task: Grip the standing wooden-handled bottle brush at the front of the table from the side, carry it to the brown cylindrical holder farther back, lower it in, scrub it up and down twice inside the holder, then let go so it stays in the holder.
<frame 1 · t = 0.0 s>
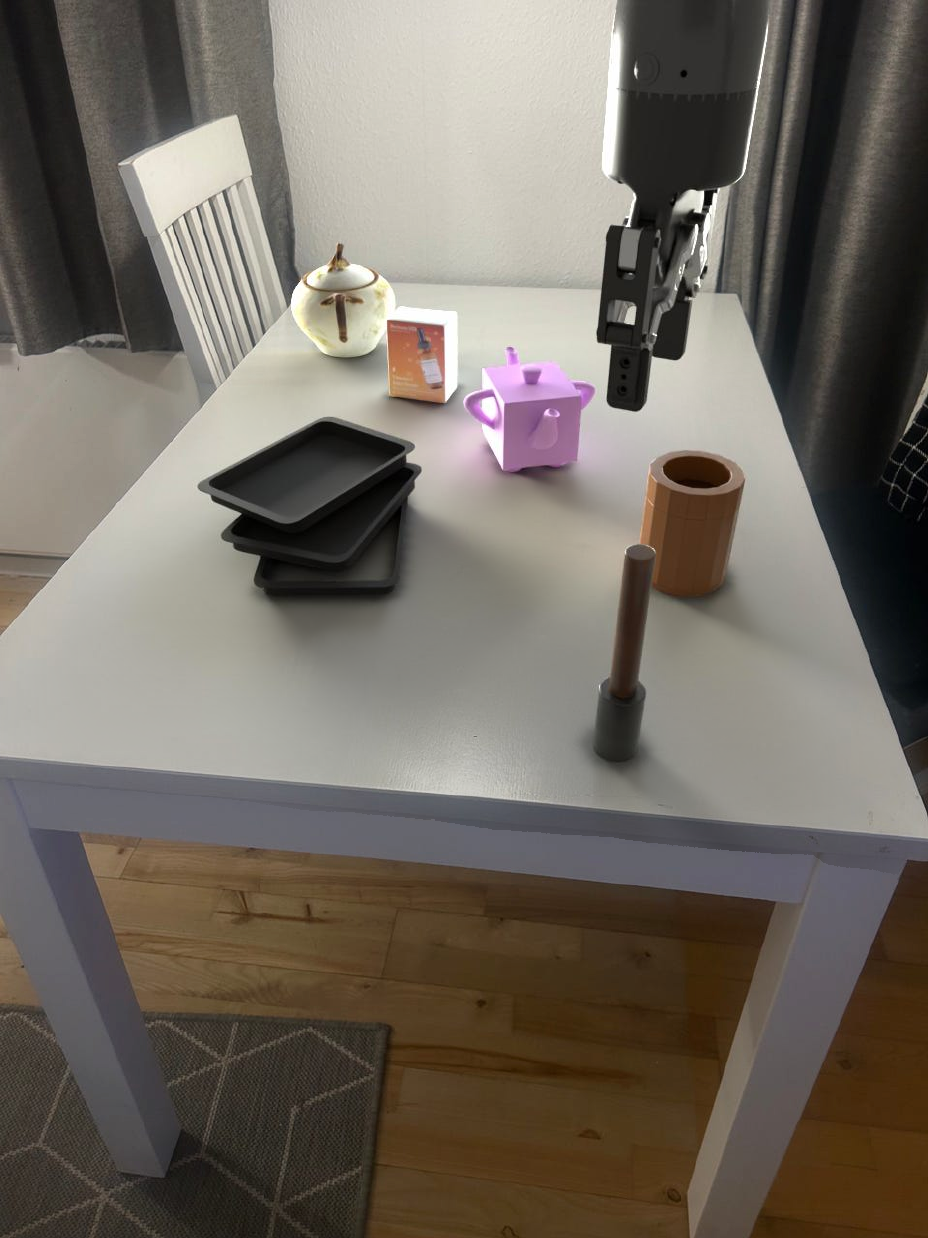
hand: (647, 380, 56), 28 cm above the table, tool pointing down, fingers open, 8 cm apart
teapot: (527, 457, 108), on the table
brown cylindrical holder: (680, 572, 89), on the table
tray: (318, 526, 96), on the table
sugar bowl: (347, 348, 136), on the table
brush: (614, 747, 70), on the table
small box: (424, 394, 123), on the table
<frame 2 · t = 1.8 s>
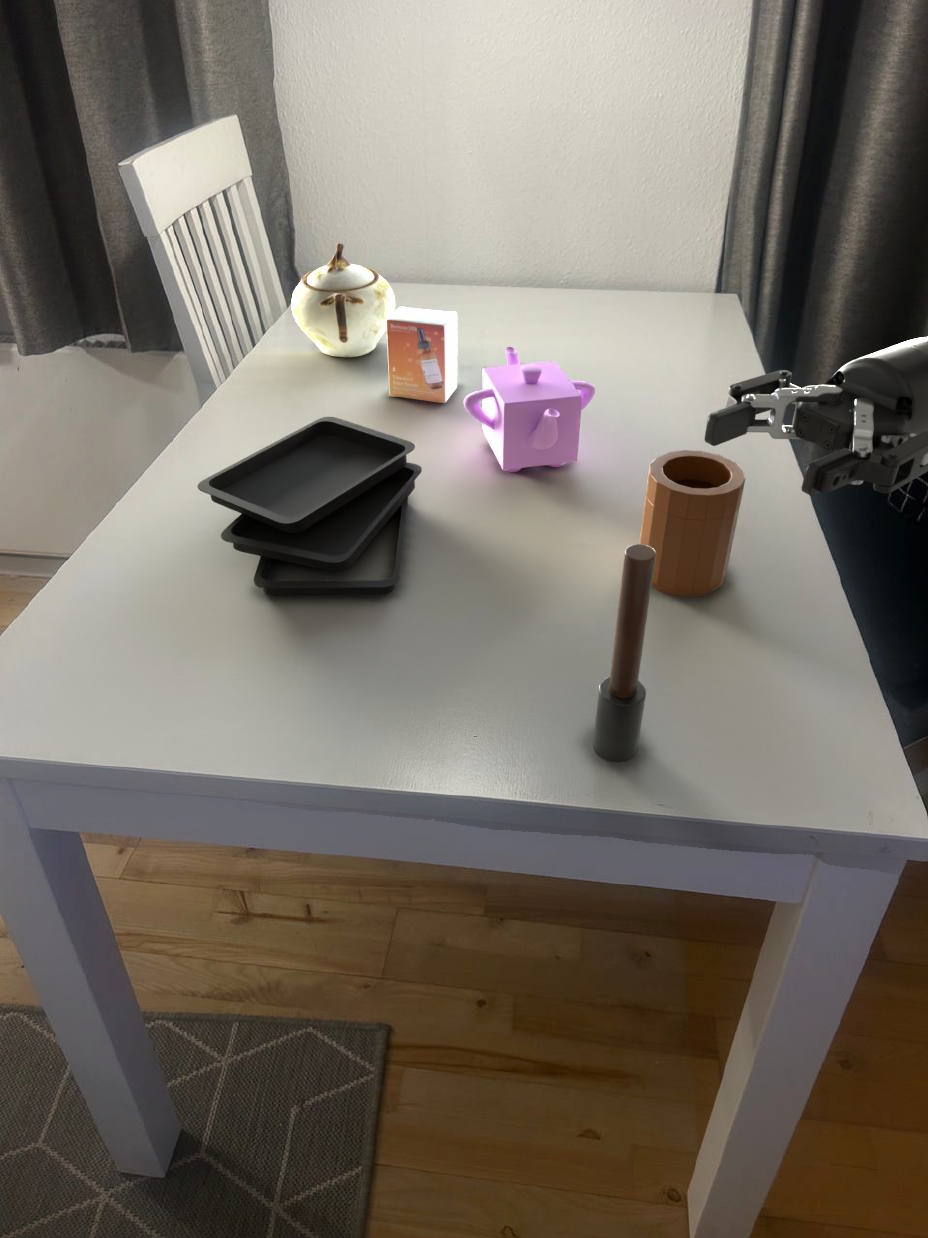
hand: (756, 455, 61), 22 cm above the table, tool horizontal, fingers open, 8 cm apart
nothing on the table moved.
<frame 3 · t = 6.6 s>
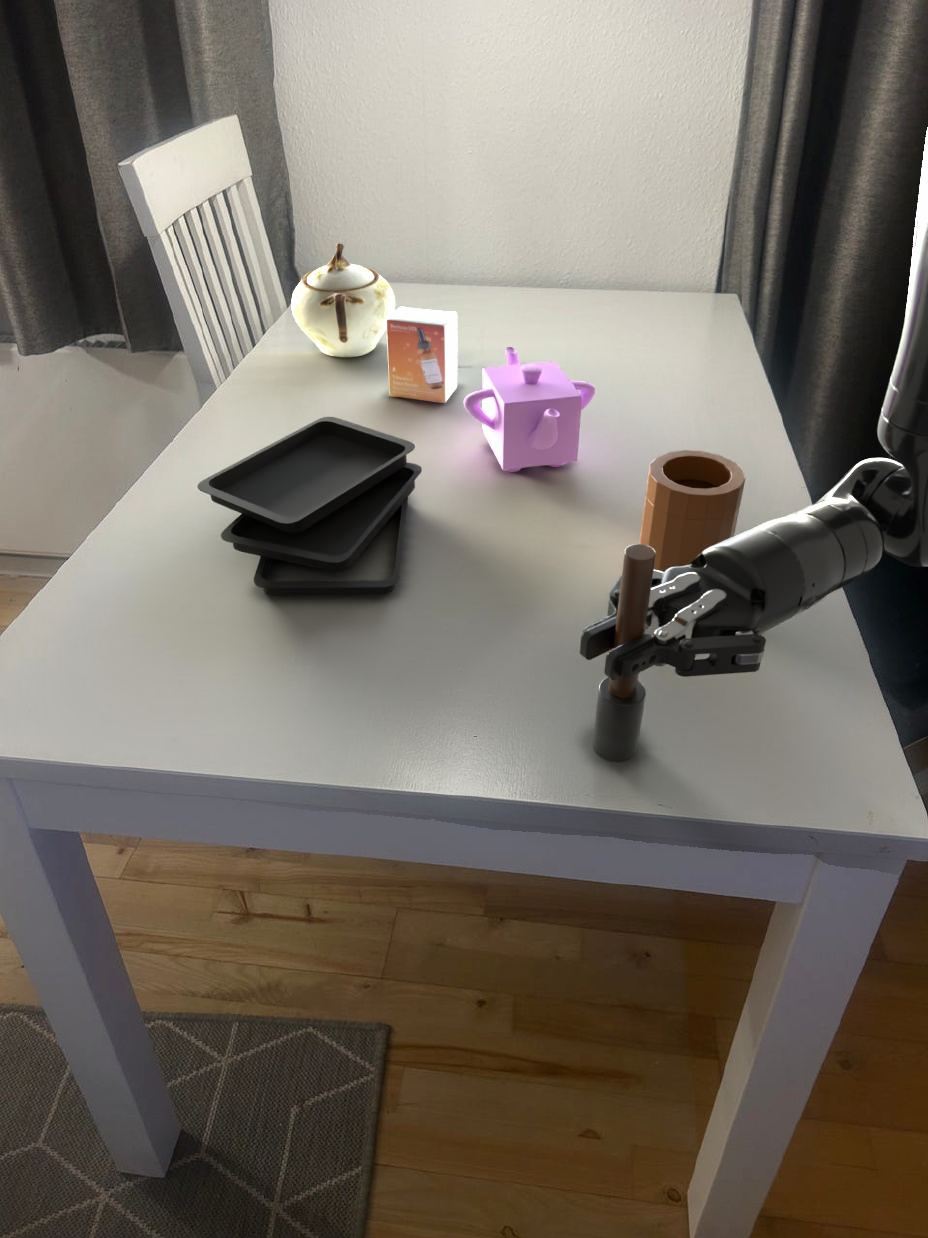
hand: (597, 657, 62), 11 cm above the table, tool horizontal, fingers closed on brush, 2 cm apart
brush: (614, 747, 70), on the table, touching gripper
everything else where it was.
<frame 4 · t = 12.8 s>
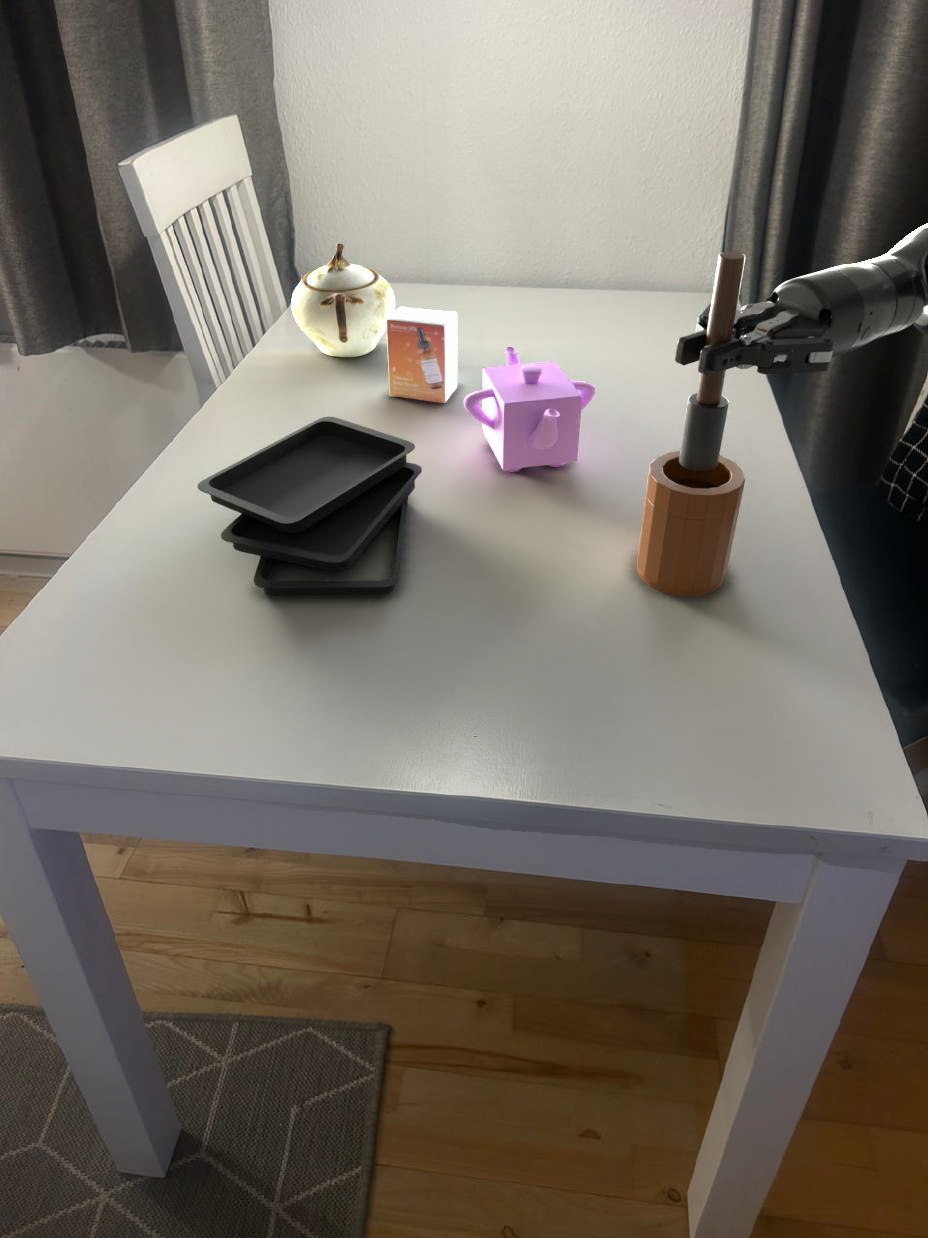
hand: (691, 357, 74), 22 cm above the table, tool horizontal, fingers closed on brush
brush: (698, 462, 82), point 12 cm above the table, touching gripper
everything else where it was.
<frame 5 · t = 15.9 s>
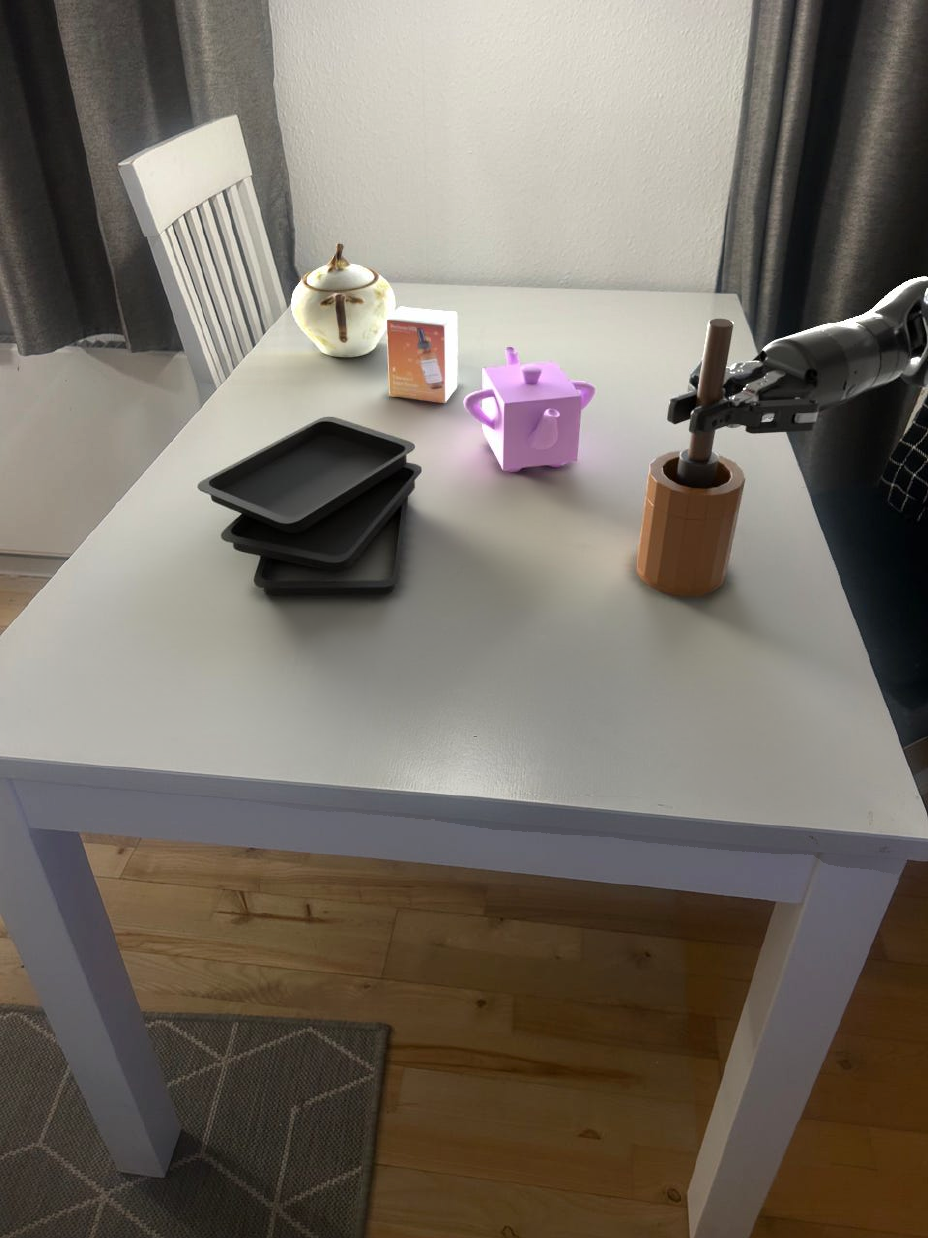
hand: (682, 417, 77), 17 cm above the table, tool horizontal, fingers closed on brush
brush: (689, 513, 85), point 7 cm above the table, touching gripper
everything else where it was.
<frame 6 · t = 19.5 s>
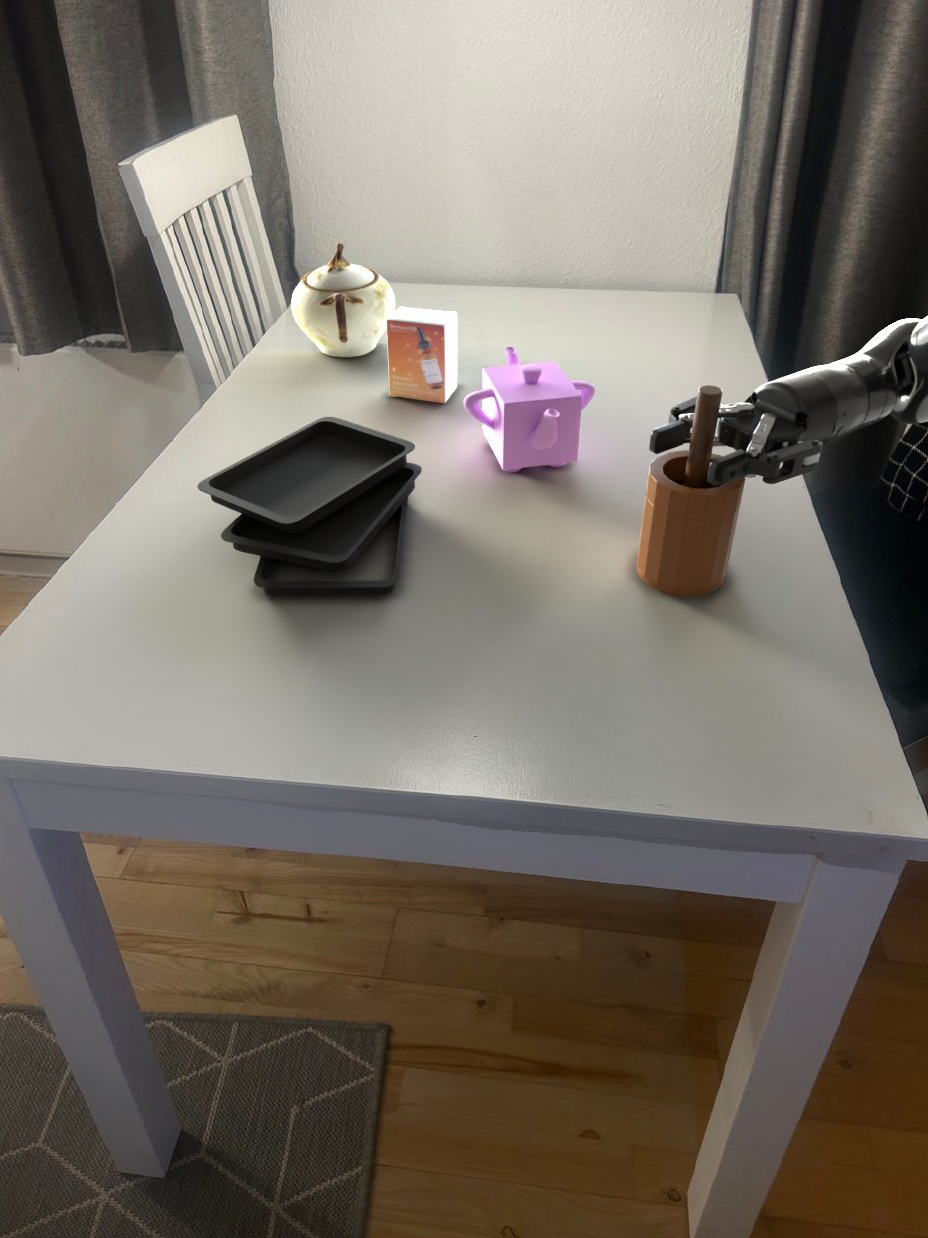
hand: (681, 458, 80), 13 cm above the table, tool horizontal, fingers open, 6 cm apart
brush: (681, 565, 88), point 1 cm above the table, touching brown cylindrical holder
everything else where it was.
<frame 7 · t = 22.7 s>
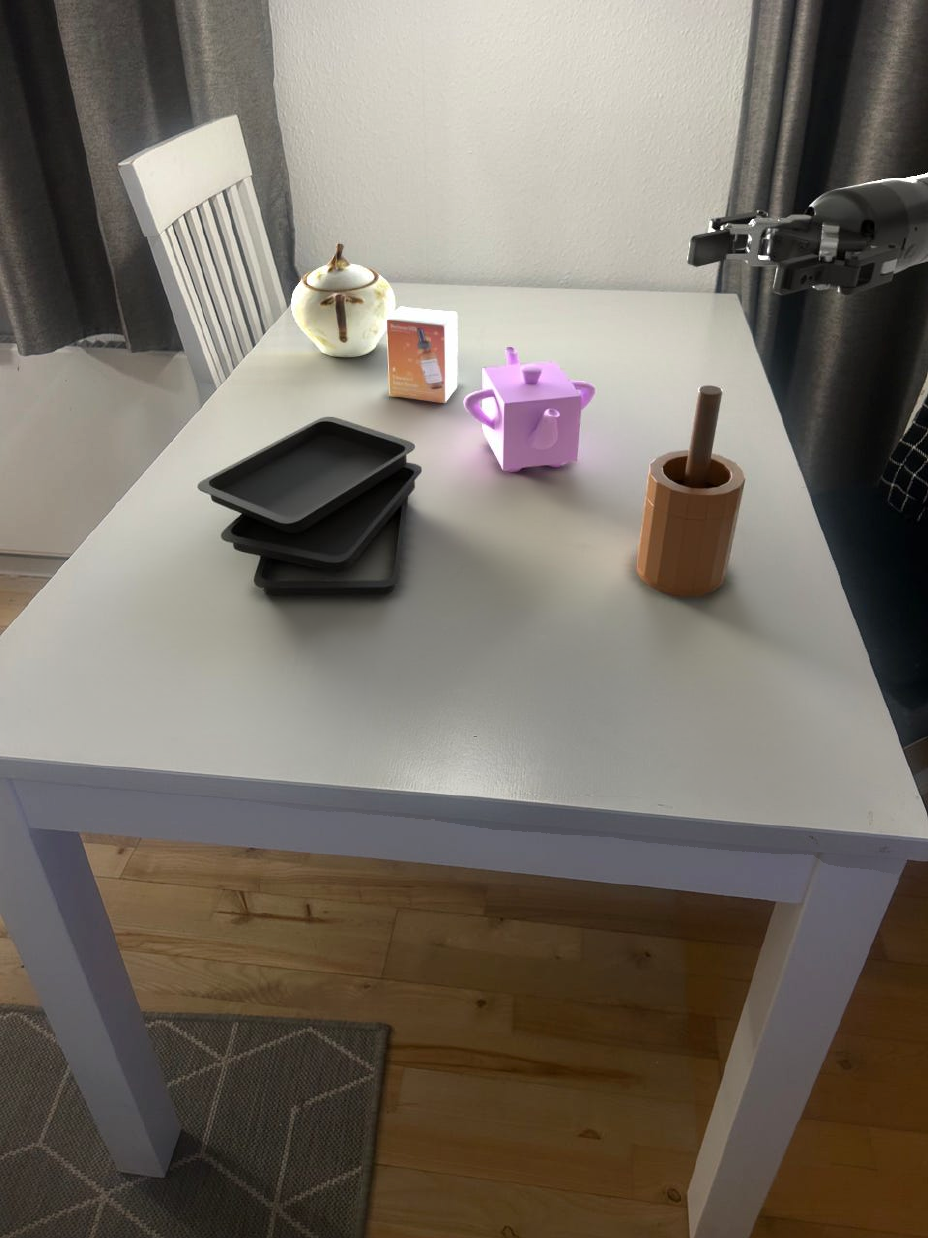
hand: (733, 265, 68), 30 cm above the table, tool horizontal, fingers open, 8 cm apart
nothing on the table moved.
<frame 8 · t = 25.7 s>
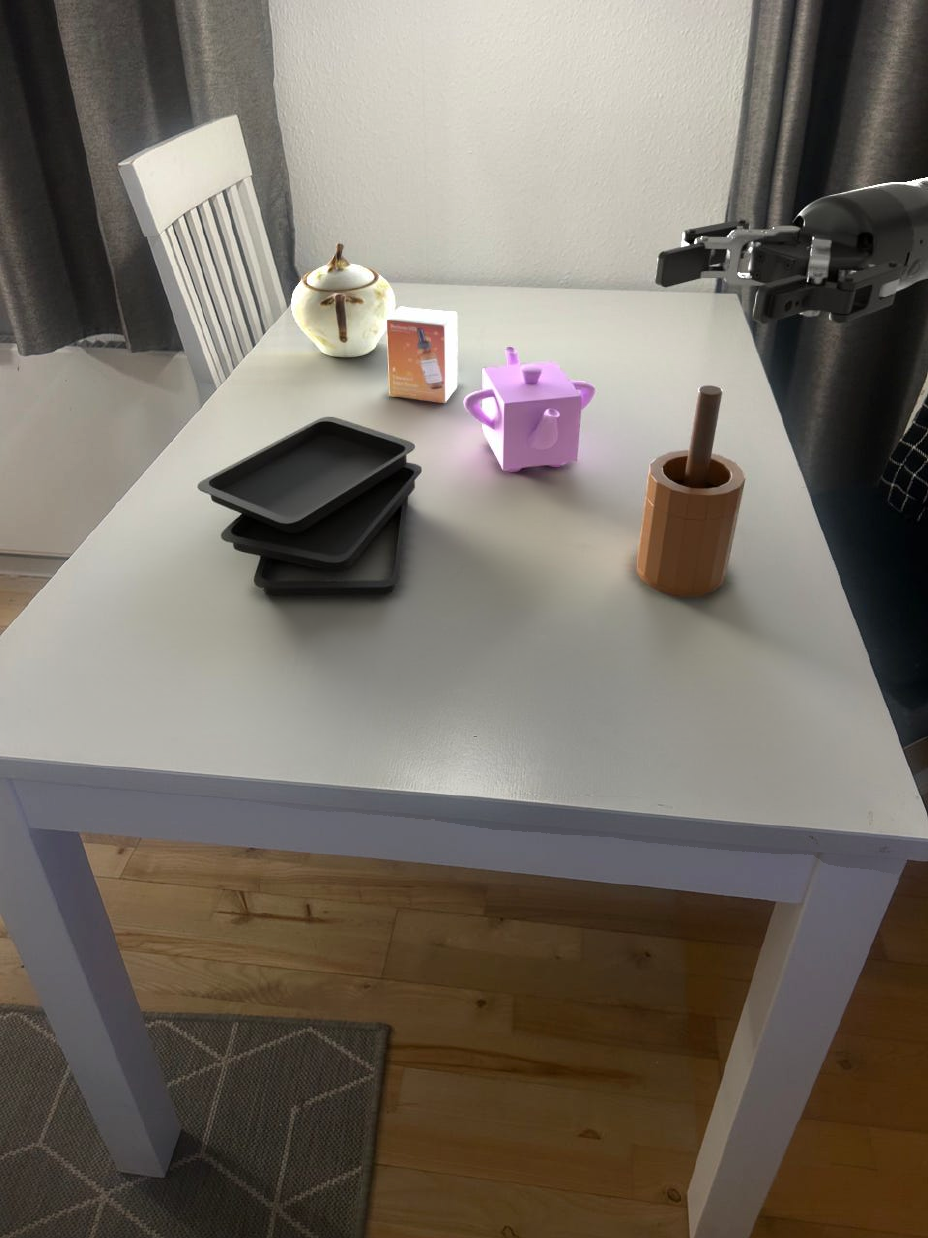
hand: (706, 287, 58), 32 cm above the table, tool horizontal, fingers open, 8 cm apart
nothing on the table moved.
at the end: brush 0.0 cm off-centre in the brown cylindrical holder, point 0.8 cm above the brown cylindrical holder's base; the gripper is holding nothing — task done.
